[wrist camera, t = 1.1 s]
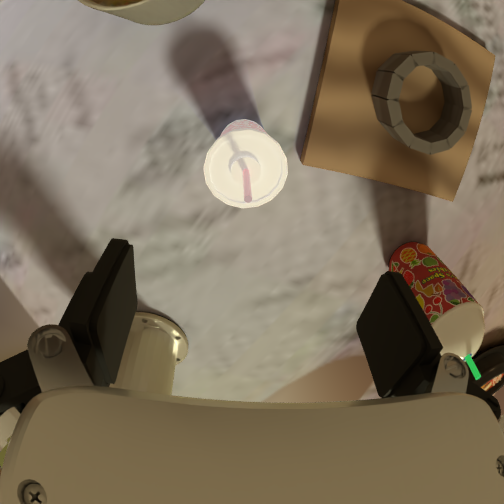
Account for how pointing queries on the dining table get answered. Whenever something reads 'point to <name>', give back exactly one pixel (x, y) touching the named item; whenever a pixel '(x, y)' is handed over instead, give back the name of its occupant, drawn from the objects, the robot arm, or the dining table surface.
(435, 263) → the smoothie
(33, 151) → the dining table surface
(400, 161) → the socket board
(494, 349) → the casserole
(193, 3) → the coffee mug
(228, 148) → the beverage cup
